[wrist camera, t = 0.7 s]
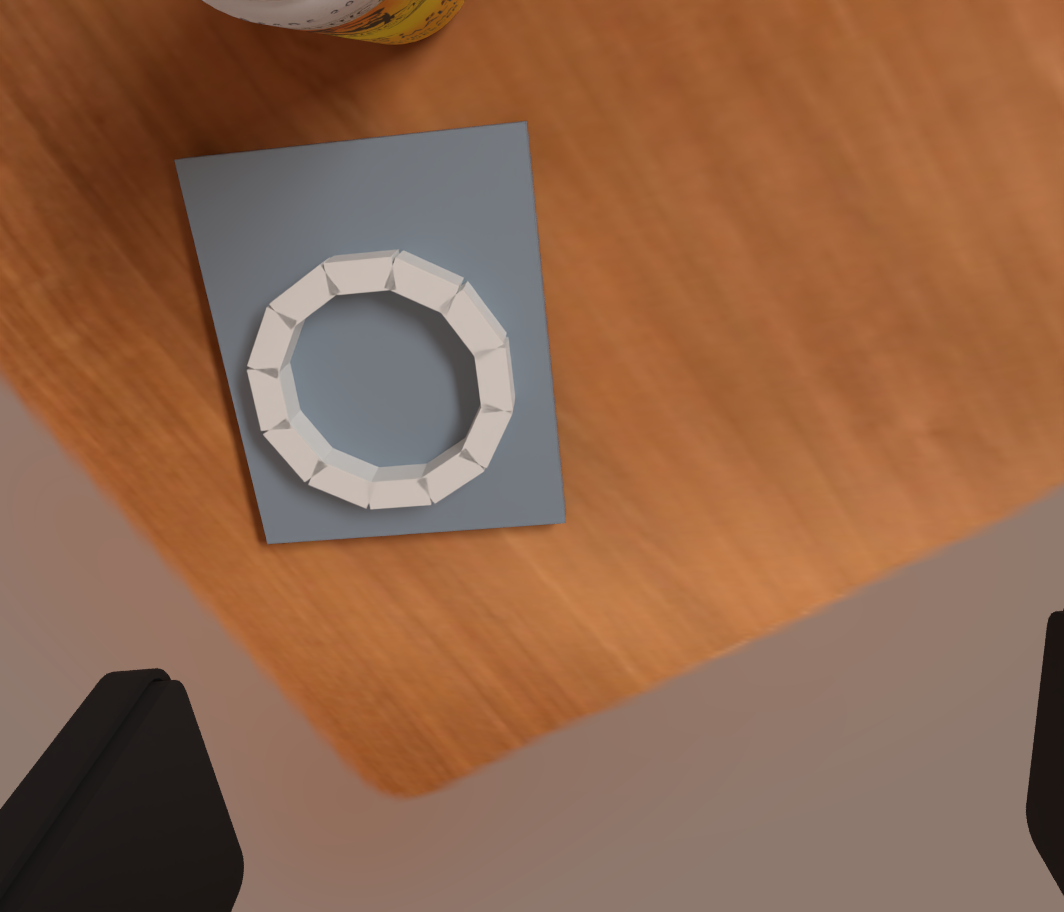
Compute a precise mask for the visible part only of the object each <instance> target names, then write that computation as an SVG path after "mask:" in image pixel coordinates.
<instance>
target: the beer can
mask: <svg viewBox="0 0 1064 912" xmlns="http://www.w3.org/2000/svg"><path fill="white" fill-rule="evenodd" d="M202 1H204V2H205V3H207V4H209V5H210V6H212V7H214V8H216V9H217V10H219V11H222V12H224V13H226V14H228V15H231V16H233V17H236V18H239V19H242V20H245V21H249V22H254V23H259V24H265V25H271V26H277V27H283V28H289V29H295V30H301V31H308V32H314V33H320V34H326V35H332V36H338V37H344V38H350V39H356V40H363V41H369V42H375V43H381V44H392V45H397V44H407V43H411V42H416V41H418V40H421V39H424V38H426V37H428V36H430V35H432V34H434V33H435V32H437V31H438V30H440V29H441V28H443V27H444V26H445V25H446V24H447V23H448V22H449V21H450V20H451V19H452V18H453V17H454V16H455V15H456V14H457V12H458V11H459V10H460V8H461V7H462V5H463V4H464V2H465V0H202Z"/></svg>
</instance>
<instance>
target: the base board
mask: <svg viewBox="0 0 1064 912" xmlns="http://www.w3.org/2000/svg"><path fill="white" fill-rule="evenodd" d="M174 161H175V165H176V169H177V173H178V177H179V182H180V186H181V190H182V194H183V198H184V202H185V206H186V210H187V215H188V219H189V223H190V227H191V231H192V235H193V239H194V243H195V247H196V252H197V256H198V260H199V264H200V268H201V272H202V276H203V280H204V285H205V289H206V293H207V297H208V301H209V305H210V309H211V313H212V317H213V322H214V326H215V330H216V334H217V338H218V342H219V346H220V350H221V355H222V359H223V363H224V367H225V371H226V375H227V379H228V383H229V388H230V392H231V396H232V400H233V404H234V408H235V412H236V416H237V420H238V425H239V429H240V433H241V437H242V441H243V445H244V449H245V453H246V458H247V462H248V466H249V470H250V474H251V478H252V482H253V486H254V490H255V495H256V499H257V503H258V507H259V511H260V515H261V519H262V523H263V528H264V532H265V536H266V540H267V544H274V543H289V542H303V541H317V540H331V539H346V538H360V537H374V536H388V535H402V534H417V533H431V532H445V531H459V530H474V529H488V528H502V527H516V526H531V525H545V524H559V523H565V521H566V510H565V500H564V490H563V480H562V469H561V459H560V449H559V439H558V429H557V419H556V409H555V399H554V388H553V378H552V368H551V358H550V348H549V338H548V328H547V318H546V307H545V297H544V287H543V277H542V267H541V257H540V247H539V237H538V227H537V216H536V206H535V196H534V186H533V176H532V166H531V156H530V146H529V135H528V125H527V121H520V122H511V123H502V124H493V125H483V126H474V127H465V128H456V129H446V130H437V131H428V132H419V133H409V134H400V135H391V136H382V137H372V138H363V139H354V140H345V141H335V142H326V143H317V144H308V145H298V146H289V147H280V148H271V149H261V150H252V151H243V152H234V153H224V154H215V155H206V156H197V157H187V158H182V159H177V160H174Z"/></svg>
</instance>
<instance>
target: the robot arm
mask: <svg viewBox="0 0 1064 912" xmlns="http://www.w3.org/2000/svg"><path fill="white" fill-rule="evenodd" d="M1026 816H1027V823H1028V828H1029V832H1030V834H1031V837H1032V840H1033V842H1034V844H1035V846H1036V848H1037V850H1038V852H1039V854H1040V855H1041V857H1042V859H1043V861H1044V862H1045V864H1046V866H1047V867H1048V869H1049V871H1050V873H1051V874H1052V876H1053V878H1054V880H1055V881H1056V883H1057V885H1058V886H1059V888H1060V890H1061V892H1062V893H1063V895H1064V610H1063V611H1056V612H1053V613H1052V614H1051V616H1050V617H1049V619H1048V623H1047V630H1046V639H1045V648H1044V656H1043V665H1042V673H1041V682H1040V691H1039V699H1038V708H1037V716H1036V725H1035V734H1034V743H1033V751H1032V760H1031V768H1030V777H1029V786H1028V794H1027V803H1026ZM243 872H244V861H243V855H242V851H241V848H240V845H239V842H238V840H237V837H236V834H235V831H234V828H233V825H232V822H231V819H230V816H229V813H228V810H227V808H226V805H225V802H224V799H223V796H222V793H221V790H220V787H219V785H218V782H217V779H216V776H215V773H214V770H213V767H212V764H211V762H210V758H209V756H208V753H207V750H206V747H205V744H204V741H203V738H202V735H201V732H200V730H199V727H198V724H197V721H196V718H195V715H194V712H193V710H192V707H191V704H190V701H189V698H188V695H187V692H186V690H185V688H184V686H183V684H182V683H181V682H180V681H177V680H171V679H170V677H169V675H168V674H167V673H166V672H165V671H164V670H162V669H158V668H155V669H142V670H130V671H117V672H111V673H108V674H106V675H105V676H104V677H103V678H102V679H100V681H99V682H98V683H97V685H96V686H95V688H94V689H93V690H92V691H91V692H90V694H89V695H88V696H87V697H86V699H85V700H84V701H83V703H82V704H81V705H80V707H79V708H78V709H77V710H76V712H75V713H74V714H73V716H72V717H71V718H70V720H69V721H68V722H67V723H66V725H65V726H64V727H63V729H62V730H61V731H60V733H59V734H58V735H57V737H56V738H55V739H54V740H53V742H52V743H51V744H50V746H49V747H48V748H47V750H46V751H45V752H44V753H43V755H42V756H41V757H40V759H39V760H38V761H37V762H36V764H35V765H34V766H33V768H32V769H31V770H30V771H29V773H28V774H27V775H26V777H25V778H24V779H23V781H22V782H21V783H20V784H19V786H18V787H17V788H16V790H15V791H14V792H13V794H12V795H11V796H10V798H9V799H8V800H7V801H6V803H5V804H4V805H3V807H2V808H1V809H0V912H231V910H232V908H233V906H234V903H235V901H236V898H237V896H238V893H239V891H240V887H241V884H242V880H243Z"/></svg>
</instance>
